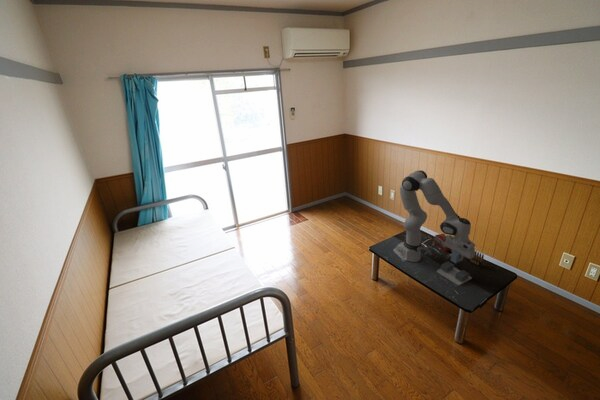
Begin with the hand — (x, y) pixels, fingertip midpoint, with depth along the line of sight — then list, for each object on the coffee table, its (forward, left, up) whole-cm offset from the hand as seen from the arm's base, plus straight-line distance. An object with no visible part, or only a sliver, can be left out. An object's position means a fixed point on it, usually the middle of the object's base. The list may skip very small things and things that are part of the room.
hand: (457, 257), depth 199 cm
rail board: (0, 0, -16) cm, 16 cm away
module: (0, 0, -3) cm, 3 cm away
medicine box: (-28, +25, -17) cm, 41 cm away
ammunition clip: (0, +24, -16) cm, 29 cm away
